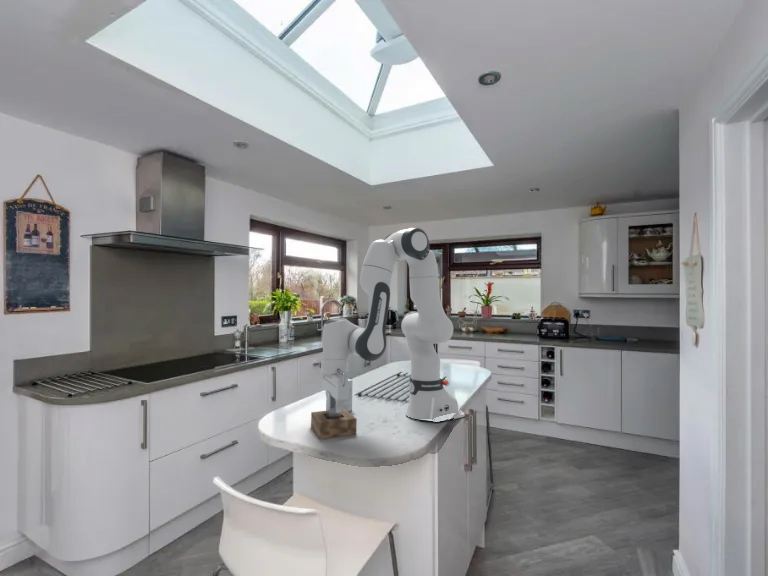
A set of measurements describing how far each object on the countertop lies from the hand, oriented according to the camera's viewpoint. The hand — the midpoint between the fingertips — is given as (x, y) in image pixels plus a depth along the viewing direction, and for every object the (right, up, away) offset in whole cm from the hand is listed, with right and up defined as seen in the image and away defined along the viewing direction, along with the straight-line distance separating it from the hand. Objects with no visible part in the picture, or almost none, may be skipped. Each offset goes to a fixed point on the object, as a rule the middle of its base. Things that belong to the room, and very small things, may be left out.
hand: (333, 408), depth 125 cm
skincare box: (+1, -8, +22) cm, 24 cm away
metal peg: (0, -6, 0) cm, 6 cm away
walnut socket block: (0, -7, 0) cm, 7 cm away
